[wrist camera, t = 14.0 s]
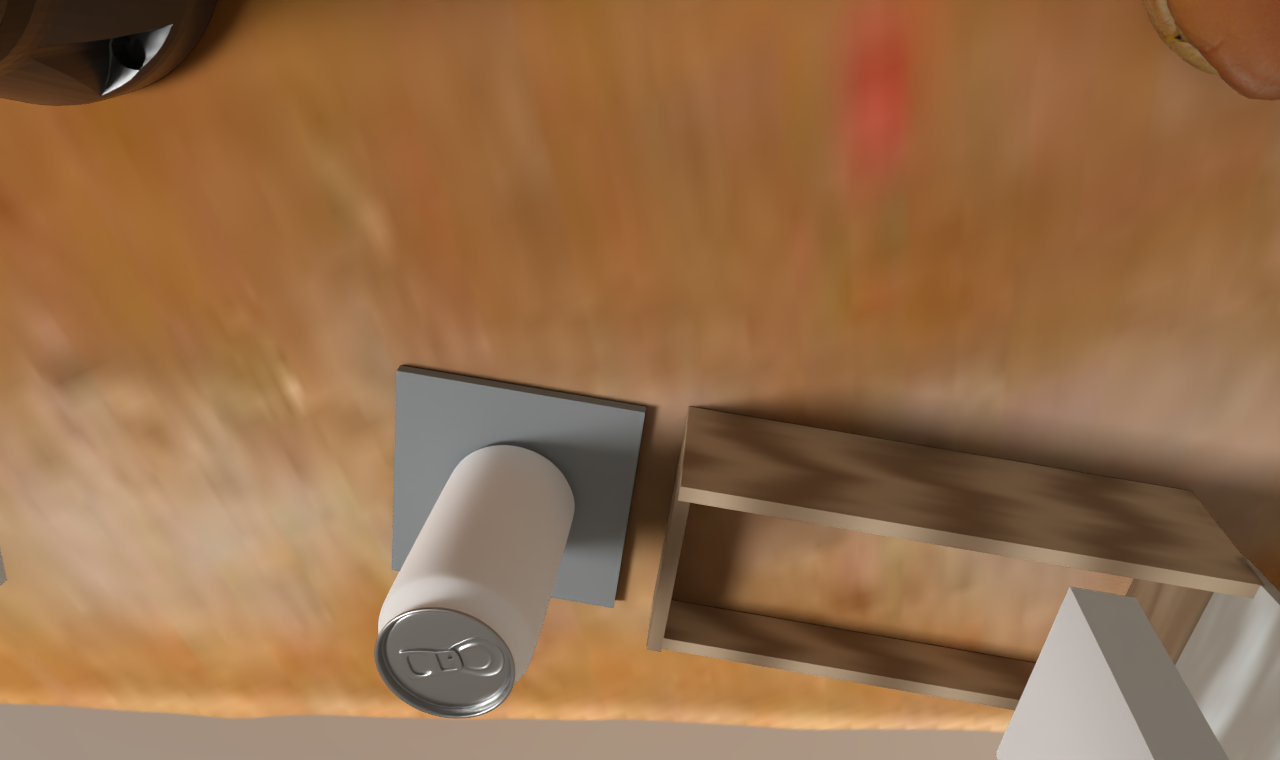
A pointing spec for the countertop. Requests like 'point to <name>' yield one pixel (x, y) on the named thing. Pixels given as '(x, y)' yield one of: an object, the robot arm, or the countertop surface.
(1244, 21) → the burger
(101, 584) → the countertop surface
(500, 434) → the mat
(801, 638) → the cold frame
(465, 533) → the can
